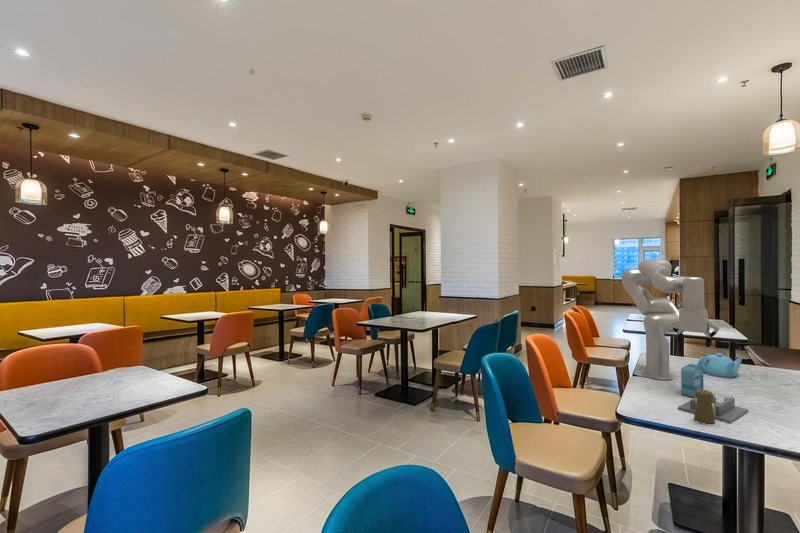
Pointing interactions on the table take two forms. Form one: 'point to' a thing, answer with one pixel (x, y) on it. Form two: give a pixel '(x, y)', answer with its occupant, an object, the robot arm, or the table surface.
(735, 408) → the tray
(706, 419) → the cork
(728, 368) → the teapot
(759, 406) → the table surface
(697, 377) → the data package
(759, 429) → the table surface
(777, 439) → the table surface
